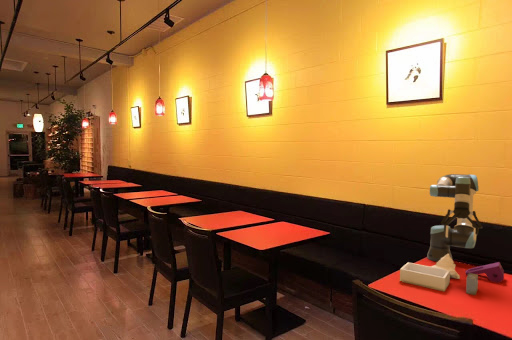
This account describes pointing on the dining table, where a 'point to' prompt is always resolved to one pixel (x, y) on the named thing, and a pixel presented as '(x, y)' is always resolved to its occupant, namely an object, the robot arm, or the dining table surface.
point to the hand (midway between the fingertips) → (460, 238)
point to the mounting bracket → (489, 271)
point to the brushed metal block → (472, 284)
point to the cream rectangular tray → (425, 276)
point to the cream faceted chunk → (447, 266)
